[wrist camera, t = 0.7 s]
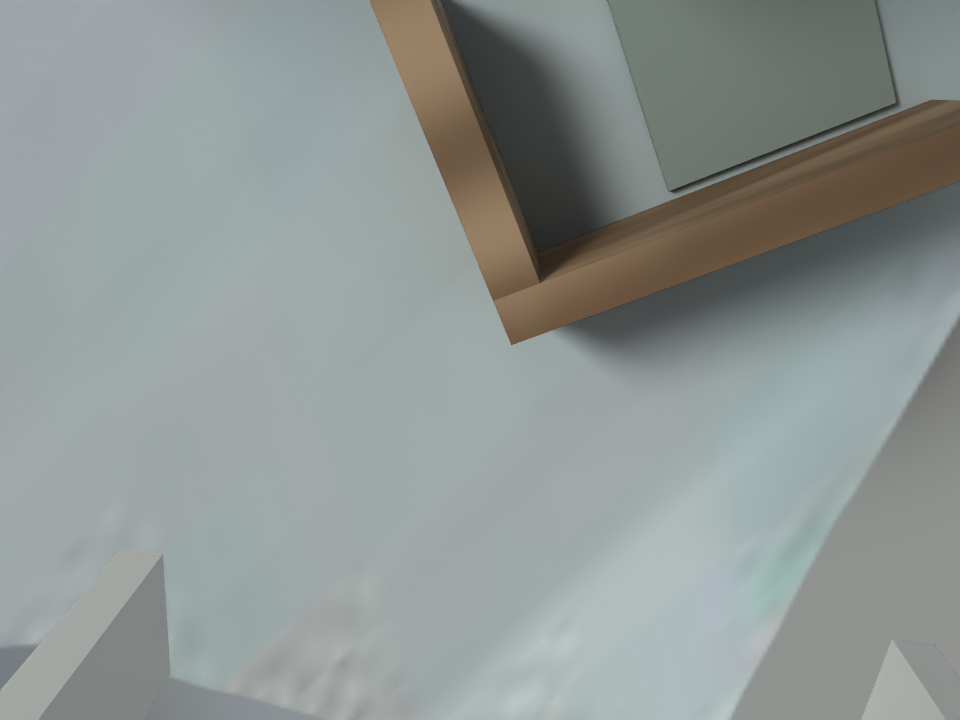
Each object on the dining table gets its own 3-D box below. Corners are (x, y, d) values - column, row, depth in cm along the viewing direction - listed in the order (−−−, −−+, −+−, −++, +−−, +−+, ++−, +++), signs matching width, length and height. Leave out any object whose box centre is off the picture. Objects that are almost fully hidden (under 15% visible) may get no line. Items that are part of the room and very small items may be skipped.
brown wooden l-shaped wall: (394, 11, 32) (366, -6, 26) (869, -210, 28) (956, -285, 22) (513, 305, 36) (511, 345, 30) (940, 144, 32) (1028, 156, 27)
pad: (595, -38, 31) (595, -40, 30) (839, -149, 29) (842, -152, 29) (667, 190, 34) (668, 190, 33) (893, 102, 32) (896, 102, 32)
